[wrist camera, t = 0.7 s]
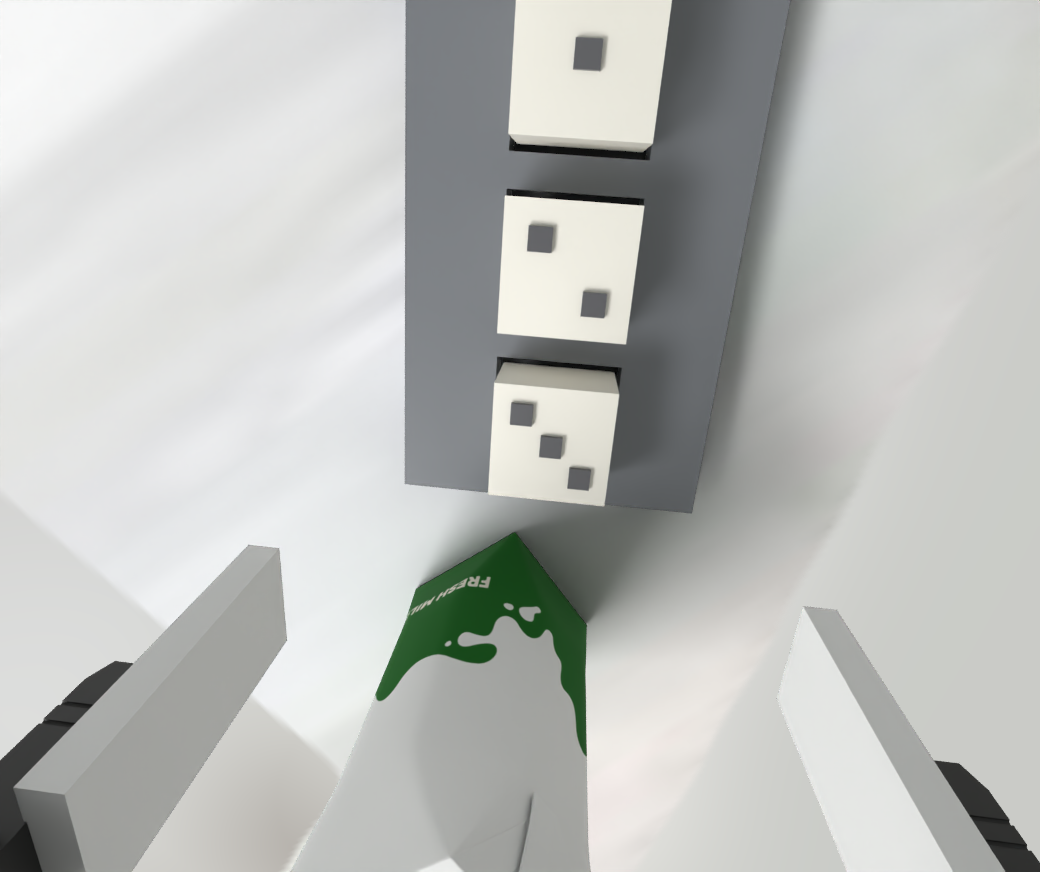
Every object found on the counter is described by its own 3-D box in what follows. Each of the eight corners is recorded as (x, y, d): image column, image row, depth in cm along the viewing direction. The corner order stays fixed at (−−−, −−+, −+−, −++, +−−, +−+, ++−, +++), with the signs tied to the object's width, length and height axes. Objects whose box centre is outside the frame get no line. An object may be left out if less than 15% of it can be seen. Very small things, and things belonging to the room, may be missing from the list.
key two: (514, 196, 25) (504, 195, 22) (635, 205, 25) (645, 205, 21) (506, 318, 27) (496, 334, 23) (620, 327, 27) (626, 345, 23)
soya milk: (485, 690, 37) (390, 1191, 18) (392, 581, 34) (173, 1022, 16) (609, 628, 34) (648, 1131, 16) (518, 507, 32) (435, 923, 13)
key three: (503, 361, 28) (493, 383, 24) (614, 371, 27) (619, 395, 24) (497, 462, 29) (487, 496, 26) (601, 472, 29) (604, 508, 26)
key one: (526, -5, 23) (517, -43, 19) (661, 3, 22) (677, -35, 19) (517, 143, 24) (507, 133, 21) (642, 152, 24) (653, 142, 21)
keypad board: (419, -42, 24) (405, -64, 22) (780, -24, 23) (799, -44, 21) (414, 467, 32) (404, 483, 30) (684, 494, 31) (691, 513, 29)
